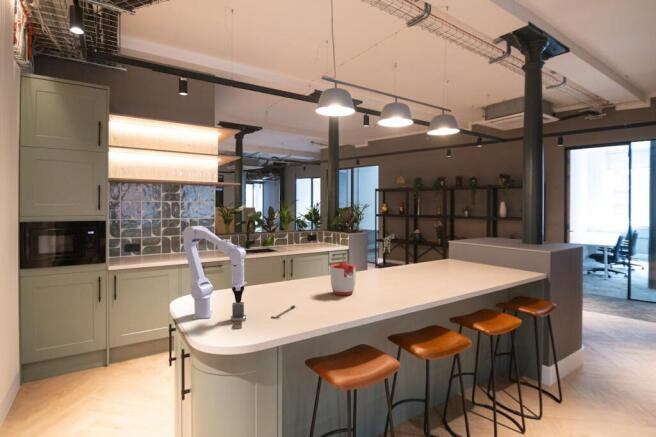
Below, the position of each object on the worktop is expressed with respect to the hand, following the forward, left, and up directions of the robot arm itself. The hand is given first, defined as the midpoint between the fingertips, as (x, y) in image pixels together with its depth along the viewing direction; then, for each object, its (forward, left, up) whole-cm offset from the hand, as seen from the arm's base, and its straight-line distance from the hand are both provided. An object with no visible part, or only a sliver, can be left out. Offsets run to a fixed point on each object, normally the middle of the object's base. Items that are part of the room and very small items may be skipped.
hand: (238, 302), depth 170 cm
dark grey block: (0, 0, -7) cm, 7 cm away
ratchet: (+4, 0, -8) cm, 9 cm away
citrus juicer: (-36, +62, -9) cm, 72 cm away
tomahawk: (-6, +24, -9) cm, 26 cm away
